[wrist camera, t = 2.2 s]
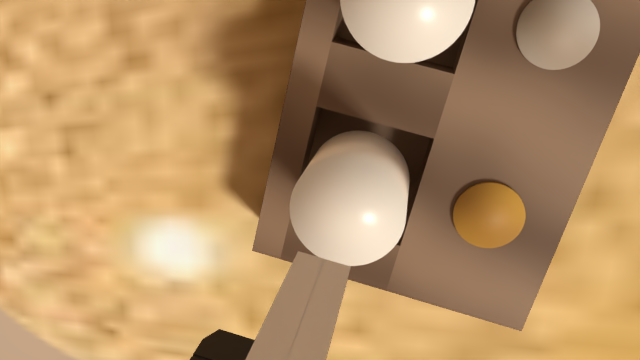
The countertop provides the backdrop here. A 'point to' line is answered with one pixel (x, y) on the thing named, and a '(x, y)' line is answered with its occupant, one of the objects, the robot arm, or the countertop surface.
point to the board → (463, 142)
